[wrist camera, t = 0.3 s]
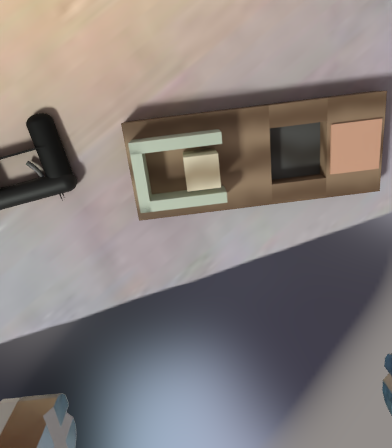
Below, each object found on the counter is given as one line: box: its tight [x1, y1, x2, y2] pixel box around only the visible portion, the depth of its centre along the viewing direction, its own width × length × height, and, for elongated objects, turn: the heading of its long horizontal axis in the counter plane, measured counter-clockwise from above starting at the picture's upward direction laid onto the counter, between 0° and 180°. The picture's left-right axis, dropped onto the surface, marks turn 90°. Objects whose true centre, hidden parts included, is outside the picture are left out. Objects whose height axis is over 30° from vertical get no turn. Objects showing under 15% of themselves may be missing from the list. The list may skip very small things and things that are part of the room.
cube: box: [183, 148, 221, 192], centre depth 48 cm, size 4×4×4 cm
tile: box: [330, 118, 382, 174], centre depth 50 cm, size 7×7×1 cm
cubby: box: [128, 129, 227, 213], centre depth 48 cm, size 10×12×4 cm
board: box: [121, 91, 387, 220], centre depth 51 cm, size 14×36×3 cm, turn 97°
